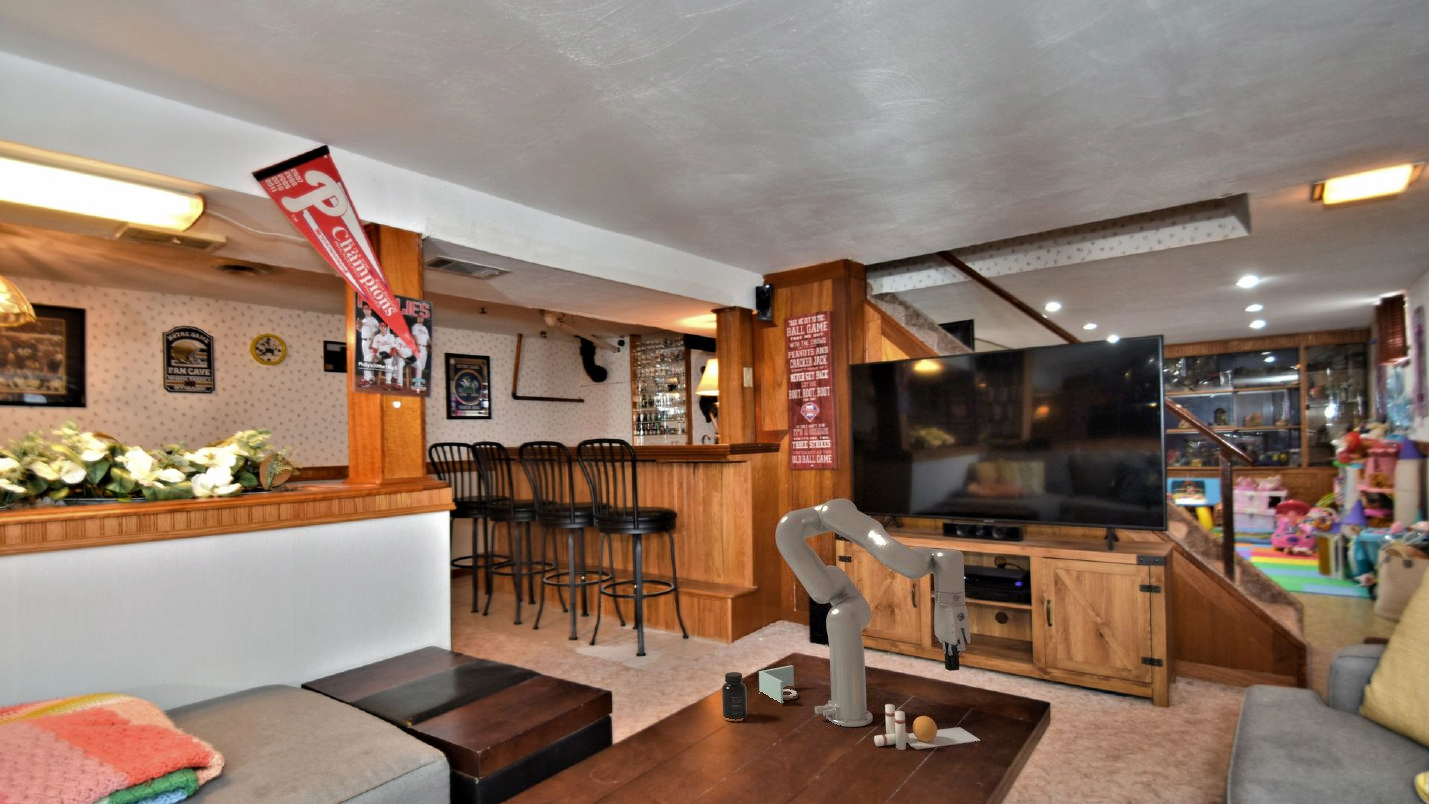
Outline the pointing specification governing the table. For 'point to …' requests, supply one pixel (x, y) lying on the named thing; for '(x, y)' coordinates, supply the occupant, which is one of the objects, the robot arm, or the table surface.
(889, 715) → the back pin left
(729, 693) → the supplement bottle
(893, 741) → the front pin
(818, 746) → the table surface
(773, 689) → the right angle wall
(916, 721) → the ball
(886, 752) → the table surface
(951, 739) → the lane mark
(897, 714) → the back pin right
